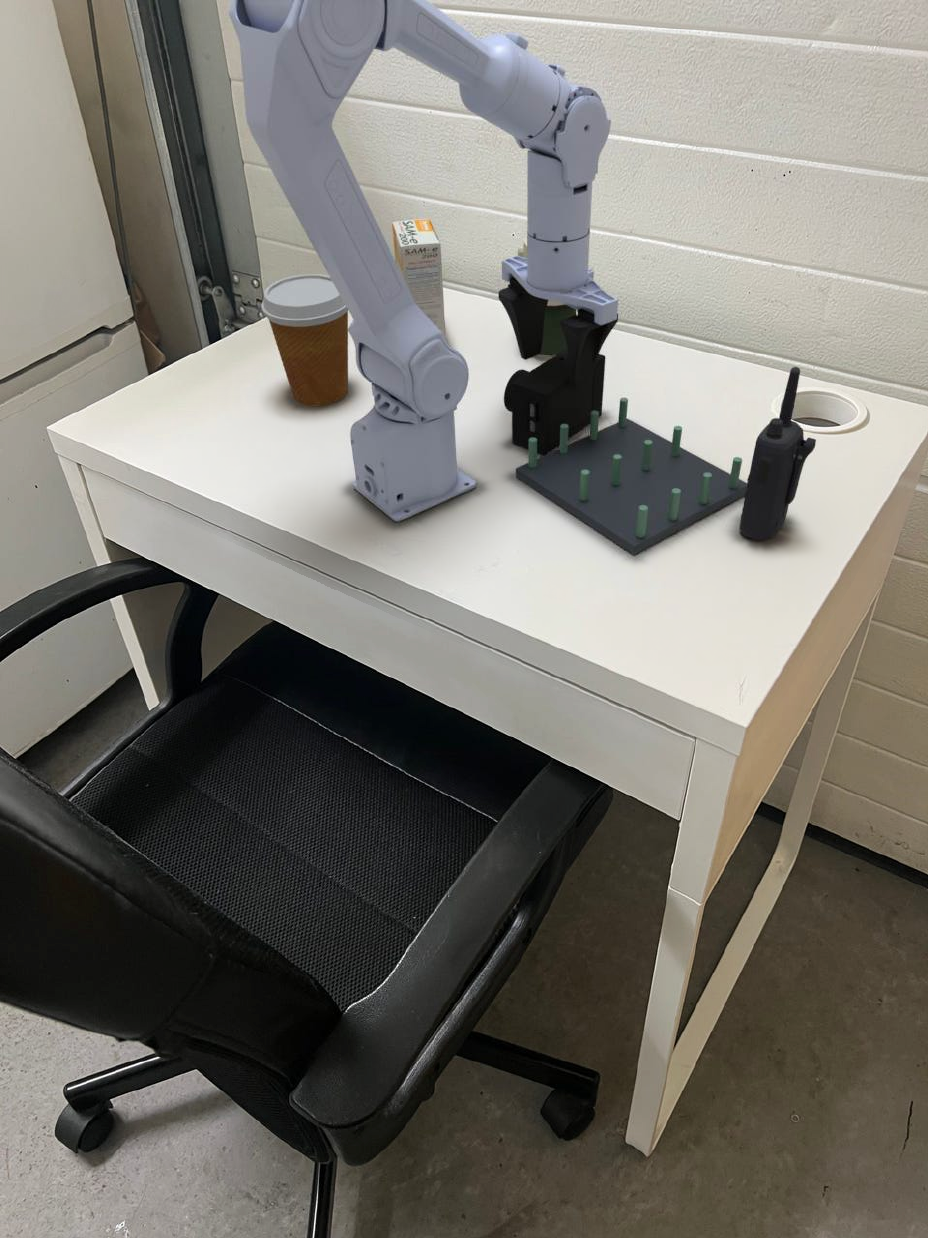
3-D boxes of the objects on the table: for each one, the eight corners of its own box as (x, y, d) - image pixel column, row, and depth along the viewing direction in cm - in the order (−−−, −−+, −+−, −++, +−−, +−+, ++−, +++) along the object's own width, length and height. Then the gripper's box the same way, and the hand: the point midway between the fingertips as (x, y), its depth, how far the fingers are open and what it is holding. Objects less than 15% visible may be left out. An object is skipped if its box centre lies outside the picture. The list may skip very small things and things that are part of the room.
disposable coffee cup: (267, 411, 104) (246, 306, 96) (294, 371, 111) (276, 270, 103) (349, 415, 102) (335, 309, 94) (371, 375, 109) (359, 273, 101)
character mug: (607, 352, 111) (614, 241, 102) (568, 373, 107) (572, 260, 99) (537, 327, 117) (539, 220, 108) (499, 346, 113) (497, 237, 105)
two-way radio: (755, 506, 86) (786, 354, 76) (802, 521, 84) (841, 367, 74) (731, 536, 83) (760, 382, 73) (780, 552, 81) (817, 396, 71)
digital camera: (561, 400, 103) (562, 340, 98) (602, 415, 100) (606, 354, 95) (502, 440, 97) (501, 378, 92) (544, 456, 94) (545, 393, 90)
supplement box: (399, 326, 119) (390, 220, 110) (436, 322, 119) (430, 216, 111) (408, 354, 113) (399, 245, 104) (447, 350, 113) (441, 240, 104)
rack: (633, 555, 82) (637, 518, 79) (515, 476, 92) (515, 441, 89) (748, 493, 88) (755, 456, 85) (626, 426, 98) (629, 391, 95)
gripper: (646, 240, 82) (634, 381, 91) (540, 201, 91) (539, 333, 100) (587, 261, 79) (580, 405, 88) (483, 219, 88) (487, 353, 97)
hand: (555, 368), depth 94 cm, fingers open, 7 cm apart
